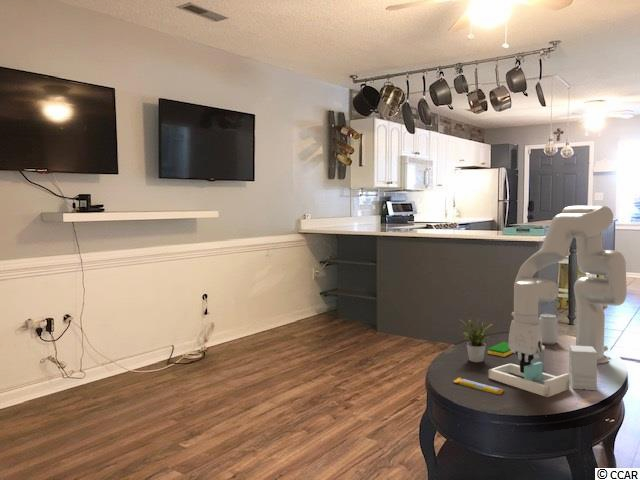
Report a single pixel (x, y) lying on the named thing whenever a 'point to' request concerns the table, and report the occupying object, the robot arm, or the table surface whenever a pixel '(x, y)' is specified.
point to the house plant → (476, 342)
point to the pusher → (534, 372)
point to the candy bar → (479, 386)
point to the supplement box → (583, 367)
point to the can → (548, 328)
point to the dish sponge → (500, 349)
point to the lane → (551, 382)
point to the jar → (540, 358)
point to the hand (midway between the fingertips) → (525, 372)
